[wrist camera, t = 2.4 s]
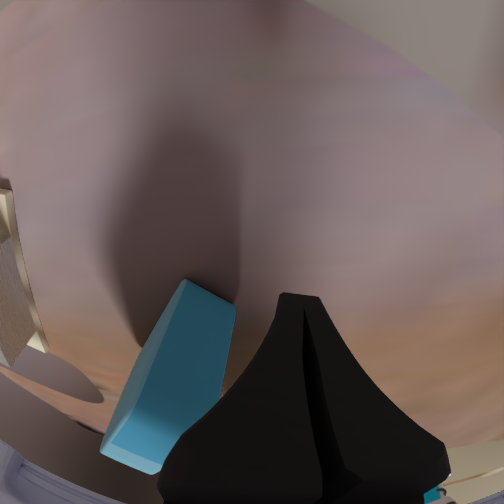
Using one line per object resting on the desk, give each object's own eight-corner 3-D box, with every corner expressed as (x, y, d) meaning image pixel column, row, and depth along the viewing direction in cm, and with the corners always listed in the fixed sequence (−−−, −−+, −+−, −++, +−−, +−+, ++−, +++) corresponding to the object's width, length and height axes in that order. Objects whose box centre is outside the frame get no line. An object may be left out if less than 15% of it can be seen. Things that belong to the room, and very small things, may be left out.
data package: (180, 372, 30) (148, 478, 19) (139, 352, 29) (96, 455, 18) (240, 298, 24) (213, 442, 14) (188, 269, 23) (129, 407, 13)
